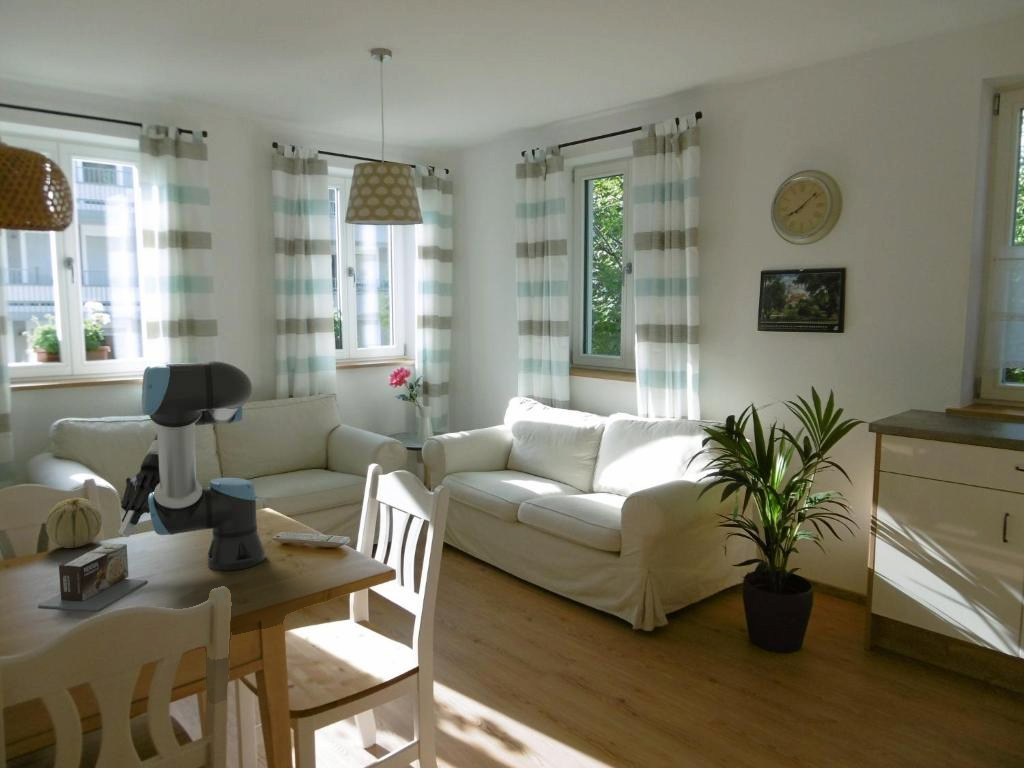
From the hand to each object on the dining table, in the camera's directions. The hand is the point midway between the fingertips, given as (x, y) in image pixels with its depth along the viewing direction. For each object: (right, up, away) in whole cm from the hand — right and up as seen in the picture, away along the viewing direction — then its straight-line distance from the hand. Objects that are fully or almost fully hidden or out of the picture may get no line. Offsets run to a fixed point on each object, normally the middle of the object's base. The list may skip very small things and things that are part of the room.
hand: (123, 534), depth 194 cm
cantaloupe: (-27, -9, +25) cm, 38 cm away
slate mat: (-1, -13, -12) cm, 17 cm away
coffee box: (0, -6, -2) cm, 7 cm away
